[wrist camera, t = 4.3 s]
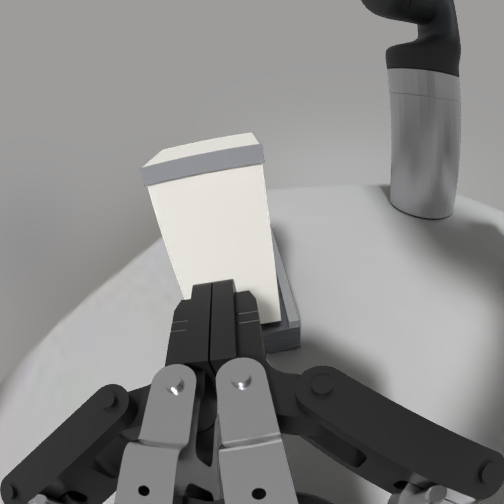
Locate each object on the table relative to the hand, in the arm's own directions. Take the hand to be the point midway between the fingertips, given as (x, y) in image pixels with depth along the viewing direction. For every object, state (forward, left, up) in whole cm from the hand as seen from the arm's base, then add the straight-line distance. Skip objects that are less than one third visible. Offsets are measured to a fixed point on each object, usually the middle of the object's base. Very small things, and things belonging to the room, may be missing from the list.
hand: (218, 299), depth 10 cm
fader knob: (-5, -3, -5) cm, 7 cm away
